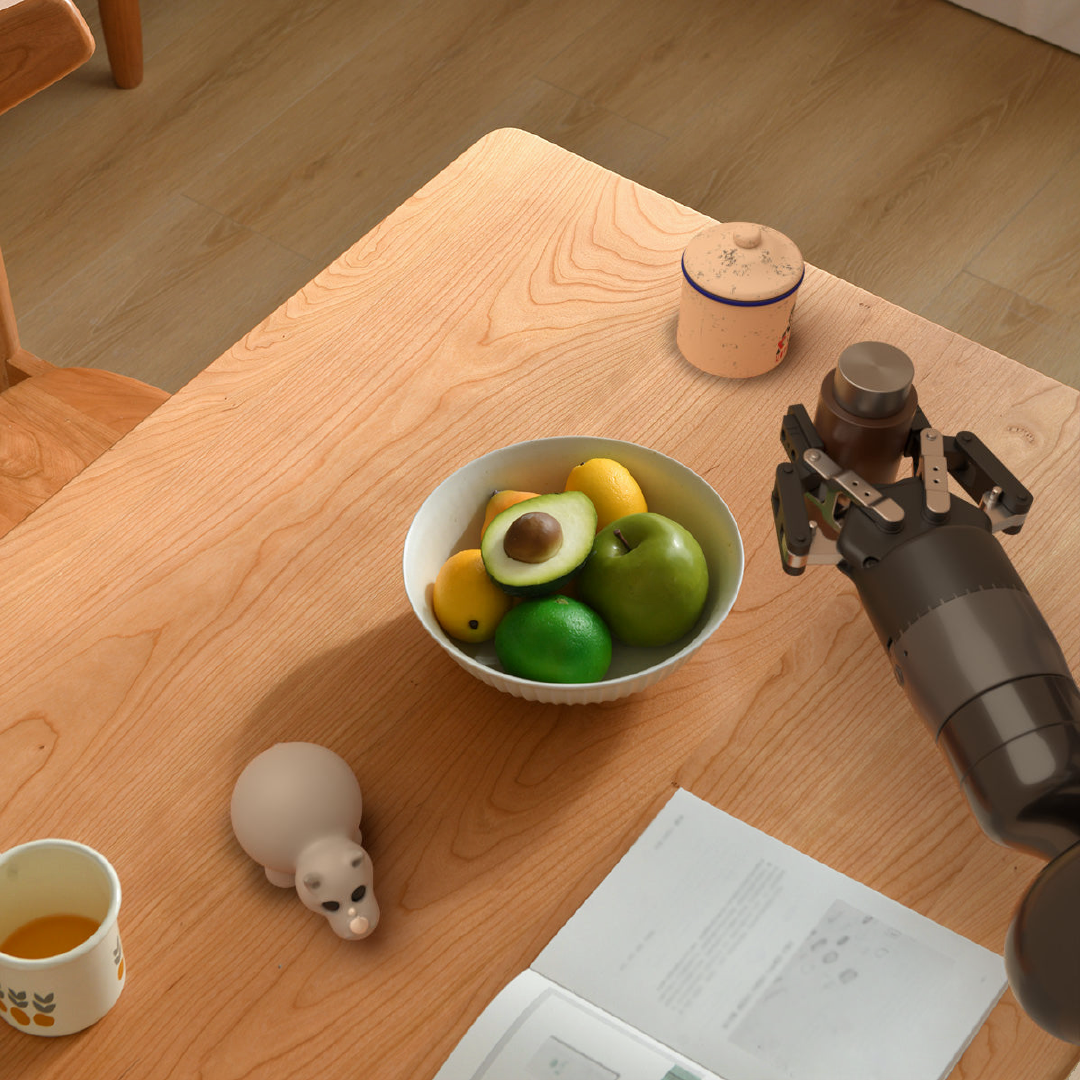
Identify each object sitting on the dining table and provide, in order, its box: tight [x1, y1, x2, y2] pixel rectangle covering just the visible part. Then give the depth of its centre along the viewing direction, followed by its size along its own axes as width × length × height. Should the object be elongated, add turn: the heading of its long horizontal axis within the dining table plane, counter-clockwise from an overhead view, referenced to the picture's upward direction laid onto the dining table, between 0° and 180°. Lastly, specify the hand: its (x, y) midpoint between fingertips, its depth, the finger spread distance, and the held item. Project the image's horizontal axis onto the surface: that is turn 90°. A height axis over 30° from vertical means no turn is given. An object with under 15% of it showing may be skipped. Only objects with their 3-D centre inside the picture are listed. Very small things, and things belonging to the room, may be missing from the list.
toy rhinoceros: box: [230, 741, 381, 941], centre depth 74 cm, size 7×12×8 cm, turn 29°
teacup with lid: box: [676, 221, 806, 379], centre depth 103 cm, size 12×9×12 cm
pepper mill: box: [804, 340, 919, 541], centre depth 77 cm, size 5×5×13 cm
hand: (840, 407), depth 77 cm, fingers closed on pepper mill, 5 cm apart
